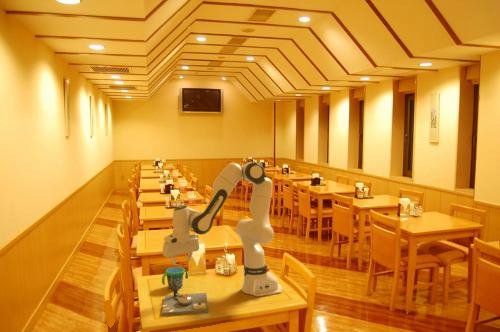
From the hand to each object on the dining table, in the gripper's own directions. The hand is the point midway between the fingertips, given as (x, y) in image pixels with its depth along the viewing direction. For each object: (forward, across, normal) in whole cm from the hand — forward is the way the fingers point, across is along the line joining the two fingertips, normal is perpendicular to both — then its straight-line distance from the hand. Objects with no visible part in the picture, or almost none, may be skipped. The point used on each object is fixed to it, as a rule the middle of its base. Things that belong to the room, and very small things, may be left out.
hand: (181, 261), depth 215 cm
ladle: (+18, +4, +7) cm, 19 cm away
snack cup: (+20, -3, -14) cm, 24 cm away
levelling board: (+20, +3, +10) cm, 22 cm away
